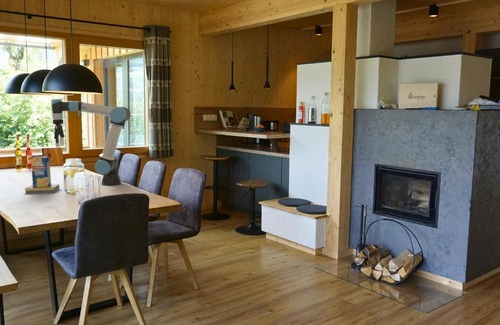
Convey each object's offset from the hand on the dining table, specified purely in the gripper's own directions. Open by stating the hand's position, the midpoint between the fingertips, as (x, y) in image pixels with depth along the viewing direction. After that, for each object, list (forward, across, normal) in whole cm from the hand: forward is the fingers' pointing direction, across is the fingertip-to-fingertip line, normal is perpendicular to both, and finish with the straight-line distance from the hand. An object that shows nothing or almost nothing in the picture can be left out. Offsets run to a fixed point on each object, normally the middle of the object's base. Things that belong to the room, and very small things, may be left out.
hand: (60, 146), depth 348 cm
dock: (+32, +17, -11) cm, 38 cm away
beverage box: (+28, +17, -11) cm, 35 cm away
